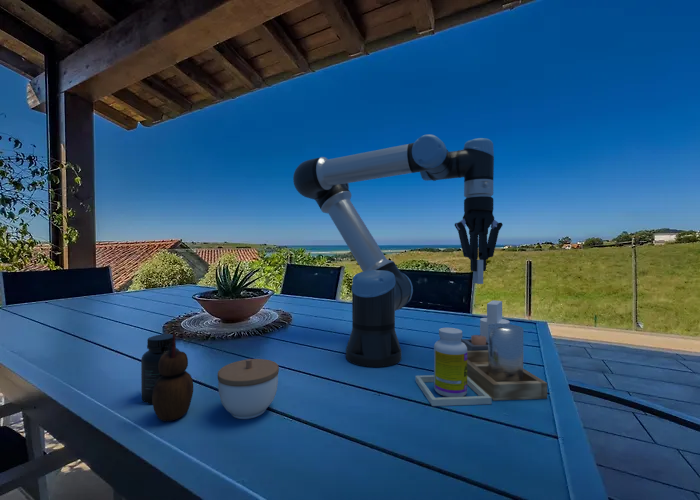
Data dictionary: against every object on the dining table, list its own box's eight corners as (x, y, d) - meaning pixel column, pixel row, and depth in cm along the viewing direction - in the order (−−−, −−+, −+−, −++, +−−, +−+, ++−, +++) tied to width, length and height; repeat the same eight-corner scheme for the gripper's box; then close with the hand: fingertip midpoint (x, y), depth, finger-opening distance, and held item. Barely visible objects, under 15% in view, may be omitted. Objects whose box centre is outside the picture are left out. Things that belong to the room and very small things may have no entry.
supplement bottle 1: (155, 388, 68) (155, 332, 68) (187, 389, 68) (187, 332, 68) (133, 404, 62) (132, 341, 62) (168, 404, 61) (168, 342, 61)
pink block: (475, 357, 87) (475, 338, 87) (468, 352, 90) (468, 335, 90) (488, 357, 87) (488, 338, 87) (482, 352, 91) (482, 334, 91)
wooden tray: (493, 400, 63) (493, 384, 63) (452, 362, 84) (452, 351, 84) (547, 398, 64) (547, 383, 64) (493, 361, 85) (493, 350, 85)
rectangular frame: (432, 406, 61) (432, 399, 61) (415, 381, 72) (415, 375, 72) (491, 404, 62) (491, 397, 62) (465, 379, 73) (465, 374, 73)
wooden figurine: (165, 407, 60) (165, 327, 60) (197, 405, 61) (197, 326, 61) (146, 427, 54) (145, 337, 54) (181, 425, 54) (181, 336, 54)
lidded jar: (218, 432, 52) (218, 374, 52) (217, 403, 62) (216, 354, 62) (284, 418, 56) (284, 365, 56) (273, 393, 66) (273, 347, 66)
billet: (498, 392, 65) (498, 331, 65) (482, 379, 72) (482, 323, 72) (530, 391, 66) (530, 330, 66) (511, 378, 73) (511, 323, 73)
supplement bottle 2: (469, 400, 63) (469, 335, 63) (434, 397, 64) (435, 333, 64) (464, 386, 70) (464, 327, 70) (433, 383, 71) (433, 325, 71)
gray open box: (472, 361, 85) (472, 346, 85) (461, 353, 92) (461, 339, 92) (497, 361, 85) (497, 345, 85) (484, 352, 92) (484, 338, 92)
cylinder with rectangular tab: (483, 333, 113) (483, 299, 113) (512, 337, 108) (512, 301, 108) (477, 339, 106) (477, 302, 106) (506, 344, 101) (507, 305, 101)
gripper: (461, 194, 84) (461, 285, 84) (509, 195, 85) (508, 284, 85) (450, 199, 91) (449, 282, 91) (493, 199, 93) (493, 281, 93)
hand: (478, 283), depth 88 cm, fingers closed
